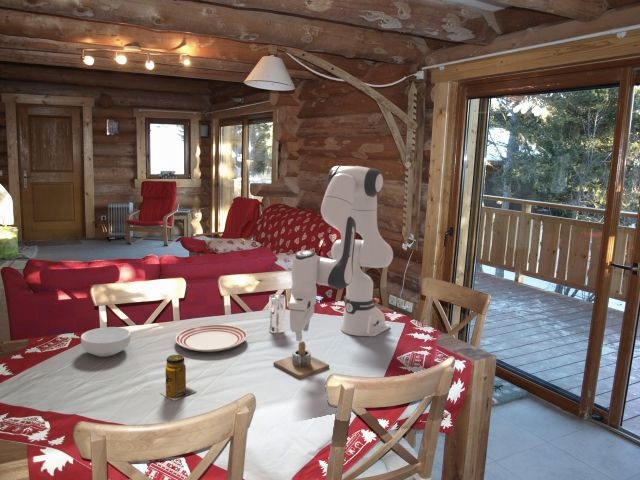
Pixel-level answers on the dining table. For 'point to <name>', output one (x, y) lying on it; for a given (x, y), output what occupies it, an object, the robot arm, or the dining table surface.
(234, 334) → the dinner plate
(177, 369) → the condiment
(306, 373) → the wooden peg stand
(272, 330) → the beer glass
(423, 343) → the dining table surface
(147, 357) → the dining table surface
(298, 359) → the ring
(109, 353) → the cereal bowl
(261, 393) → the dining table surface
